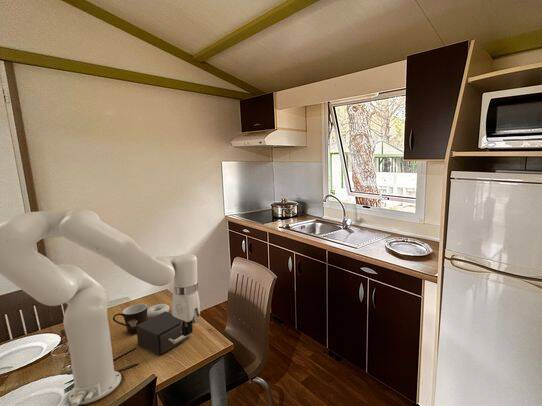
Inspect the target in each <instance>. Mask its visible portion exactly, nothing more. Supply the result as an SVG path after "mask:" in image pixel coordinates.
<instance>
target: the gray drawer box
mask: <svg viewBox="0 0 542 406" xmlns="http://www.w3.org/2000/svg"><path fill="white" fill-rule="evenodd" d="M180 324H181V323H180V319H178V318H176V317H174V316H173V315H172V312H170V311H169V312H166V311H165V312H163V313H161V314H159V315H157V316H155V317H153V318H151V319H149V318H148V319H147V320H146V321H144V322H142V323H140V324H138V325H136V329H137V334H136V337H137V339H136V340H137V345H138V346H140V347H141V348H144V349H145V350H147V351H150V352H151V353H153V354H156V355H157V356H161V355H162V354H164V353H161V349H160V338H159V336H160V335H162V334H164V333H166V332H167V331H169V330H171V329H173V328H175V327H177V326H178V325H180ZM180 343H182V342H180ZM180 343H179V344H180Z"/></svg>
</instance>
